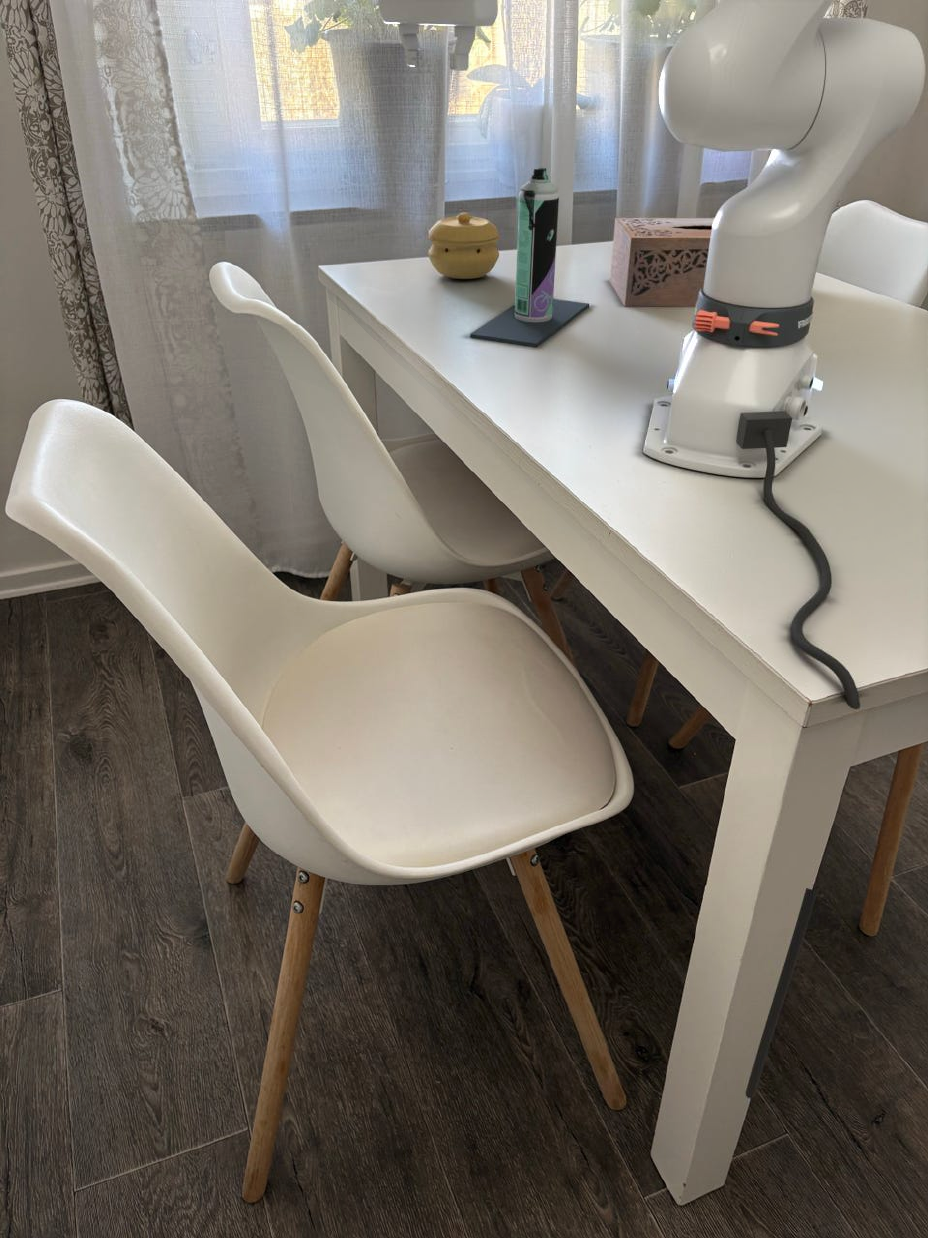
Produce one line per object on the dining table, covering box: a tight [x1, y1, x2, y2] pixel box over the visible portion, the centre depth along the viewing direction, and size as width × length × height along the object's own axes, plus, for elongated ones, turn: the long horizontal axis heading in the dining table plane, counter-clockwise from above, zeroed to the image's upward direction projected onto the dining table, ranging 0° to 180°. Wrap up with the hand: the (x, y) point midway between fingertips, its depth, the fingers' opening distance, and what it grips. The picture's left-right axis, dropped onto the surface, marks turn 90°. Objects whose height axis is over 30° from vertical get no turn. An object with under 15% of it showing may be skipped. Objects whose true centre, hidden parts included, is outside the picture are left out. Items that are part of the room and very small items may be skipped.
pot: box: [428, 212, 500, 280], centre depth 161 cm, size 12×12×10 cm
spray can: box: [514, 167, 560, 322], centre depth 137 cm, size 6×6×20 cm
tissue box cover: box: [609, 217, 715, 307], centre depth 153 cm, size 26×14×10 cm, turn 92°
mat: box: [469, 298, 590, 348], centre depth 142 cm, size 22×10×1 cm, turn 155°
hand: (436, 68), depth 121 cm, fingers open, 8 cm apart
